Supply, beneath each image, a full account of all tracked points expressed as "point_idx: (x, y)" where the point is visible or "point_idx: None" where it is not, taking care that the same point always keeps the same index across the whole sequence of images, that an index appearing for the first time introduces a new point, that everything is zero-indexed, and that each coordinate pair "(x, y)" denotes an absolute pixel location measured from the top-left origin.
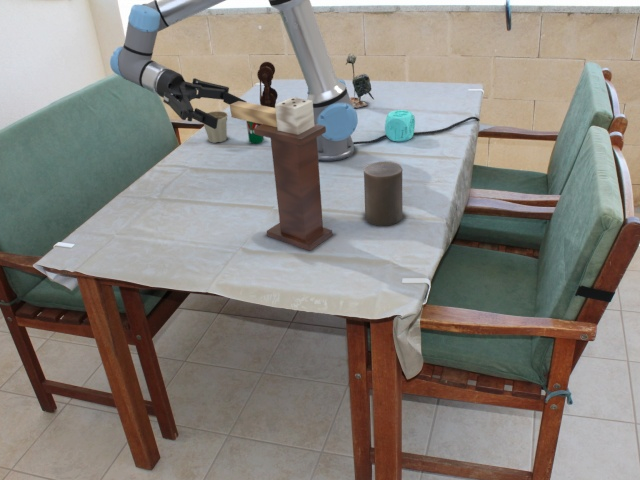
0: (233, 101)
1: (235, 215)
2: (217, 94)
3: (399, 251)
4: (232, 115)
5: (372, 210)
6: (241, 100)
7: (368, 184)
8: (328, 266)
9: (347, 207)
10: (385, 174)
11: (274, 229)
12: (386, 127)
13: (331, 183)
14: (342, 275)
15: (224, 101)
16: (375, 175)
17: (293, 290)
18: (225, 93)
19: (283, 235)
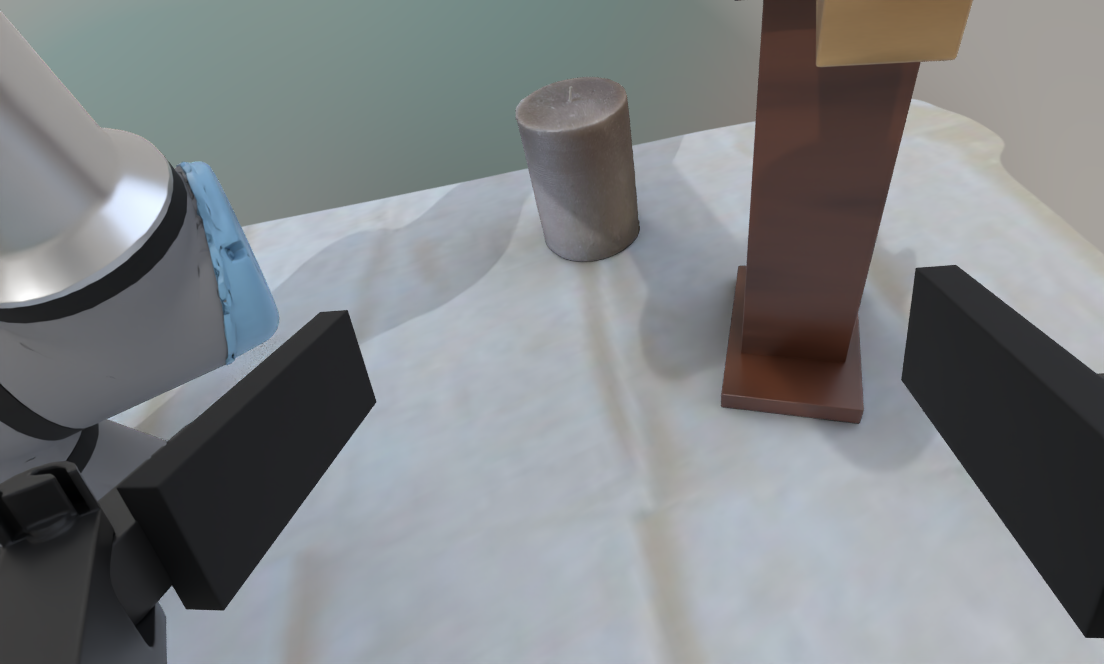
0: (289, 435)
1: (787, 645)
2: (127, 648)
3: (731, 165)
4: (961, 28)
5: (634, 200)
6: (319, 332)
7: (624, 138)
8: (888, 227)
9: (563, 312)
10: (608, 86)
11: (836, 392)
12: None
13: (400, 414)
14: (901, 195)
15: (232, 582)
16: (623, 95)
17: (1054, 235)
18: (170, 484)
19: (853, 349)
